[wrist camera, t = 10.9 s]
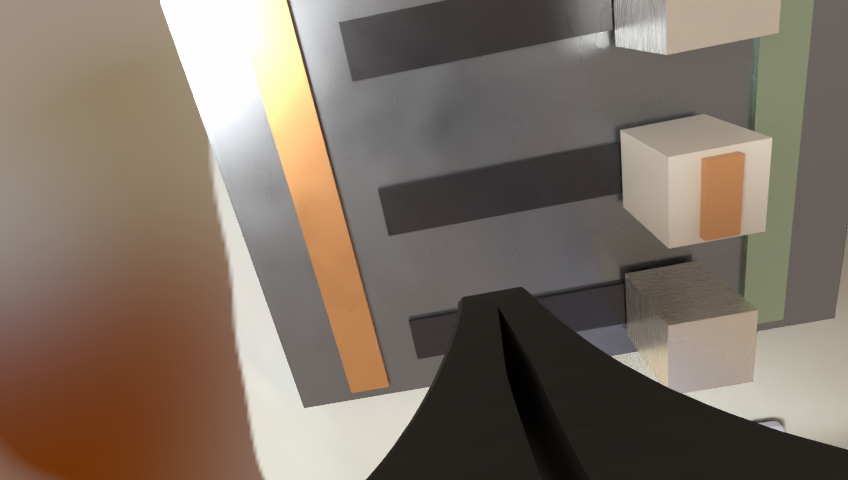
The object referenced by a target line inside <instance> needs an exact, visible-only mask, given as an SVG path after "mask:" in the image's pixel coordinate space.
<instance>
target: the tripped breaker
mask: <svg viewBox="0 0 848 480" xmlns="http://www.w3.org/2000/svg"><path fill="white" fill-rule="evenodd" d="M620 137H621V161H622V186H623V207H624V208H625V209H626V210H627V211H628V212H629V213H630V214H631V215H633V216H634V217H635V218H636V219H637V220H638V221H639V222H640V223H641V224H642V225H643V226H645V227H646V228H647V229H648V230H649V231H650V232H651V233H652V234H653V235H654V236H655V237H657V238H658V239H659V240H660V241H661V242H662V243H663V244H664V245H665V246H666V247H667V248H669V249H670V248H676V247H681V246H687V245H692V244H698V243H703V242H709V241H715V240H720V239H726V238H731V237H737V236H743V235H748V234H754V233H759V232H765V229H766V215H767V202H768V189H769V175H770V162H771V149H772V137H769V136H766V135H763V134H760V133H757V132H755V131H752V130H749V129H746V128H743V127H740V126H737V125H735V124H732V123H729V122H726V121H723V120H720V119H717V118H715V117H712V116H709V115H706V114H701V115H696V116H691V117H686V118H680V119H675V120H670V121H665V122H660V123H654V124H649V125H644V126H639V127H633V128H628V129H623V130H620Z"/></svg>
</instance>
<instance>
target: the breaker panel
mask: <svg viewBox="0 0 848 480" xmlns="http://www.w3.org/2000/svg"><path fill="white" fill-rule="evenodd" d="M160 3H161V5H162V8H163V11H164V14H165V16H166V19H167V22H168V25H169V28H170V30H171V33H172V36H173V39H174V42H175V45H176V47H177V50H178V53H179V56H180V59H181V62H182V64H183V67H184V70H185V73H186V76H187V79H188V82H189V84H190V87H191V90H192V93H193V96H194V98H195V101H196V104H197V107H198V109H199V113H200V115H201V118H202V121H203V124H204V127H205V129H206V132H207V135H208V138H209V141H210V144H211V146H212V149H213V152H214V155H215V158H216V160H217V163H218V166H219V169H220V172H221V175H222V177H223V180H224V183H225V186H226V189H227V192H228V194H229V197H230V200H231V203H232V206H233V208H234V211H235V214H236V217H237V220H238V223H239V225H240V228H241V231H242V234H243V237H244V239H245V242H246V245H247V248H248V251H249V254H250V256H251V259H252V262H253V265H254V268H255V271H256V273H257V276H258V279H259V282H260V285H261V287H262V290H263V293H264V296H265V299H266V302H267V304H268V307H269V310H270V313H271V316H272V318H273V321H274V324H275V327H276V330H277V333H278V335H279V338H280V341H281V344H282V347H283V350H284V352H285V355H286V358H287V361H288V364H289V366H290V369H291V372H292V375H293V378H294V381H295V383H296V386H297V389H298V392H299V395H300V397H301V400H302V403H303V406H304V408H307V407H313V406H319V405H325V404H331V403H336V402H342V401H348V400H354V399H360V398H366V397H372V396H378V395H384V394H389V393H395V392H401V391H407V390H413V389H419V388H425V387H430V386H431V384H432V382H433V380H434V378H435V375H436V373H437V371H438V369H439V367H440V364H441V362H442V360H443V358H444V355H445V352H446V349H447V347H448V344H449V341H450V338H451V335H452V332H453V328H454V325H455V321H456V317H457V311H458V302H459V301H460V300H461V298H462V297H465V296H471V295H477V294H482V293H488V292H493V291H499V290H505V289H510V288H516V287H523V288H524V289H526V290H527V291H528V292H529V293H530V294H531V295H532V296H533V297H535V298H536V299H537V300H538V301H539V302H540V303H541V304H542V305H543V306H544V307H546V308H547V309H548V310H549V311H550V312H551V313H553V314H554V315H555V316H556V317H557V318H559V319H560V320H561V321H562V322H563V323H565V324H566V325H567V326H569V327H570V328H571V329H573V330H574V331H575V332H576V333H578V334H579V335H580V336H582V337H583V338H584V339H586V340H587V341H589V342H590V343H591V344H593V345H594V346H596V347H597V348H599V349H600V350H602V351H603V352H605V353H606V354H608V355H609V356H613V355H619V354H625V353H631V352H637V351H639V353H640V354H641V356H642V357H643V359H644V360H645V362H646V363H647V365H648V366H649V368H650V369H651V371H652V372H653V374H654V375H655V377H656V378H657V380H658V381H659V383H660V384H662V385H664V386H666V387H668V388H670V389H672V390H675V391H677V392H679V393H687V392H693V391H699V390H705V389H711V388H717V387H723V386H729V385H735V384H741V383H747V382H753V373H754V359H755V346H756V332H757V331H760V330H766V329H772V328H778V327H784V326H789V325H795V324H801V323H807V322H813V321H819V320H825V319H831V318H835V311H836V304H837V297H838V290H839V283H840V275H841V268H842V261H843V254H844V247H845V240H846V233H847V226H848V0H162V1H160ZM701 114H706V115H709V116H712V117H715V118H717V119H720V120H723V121H726V122H729V123H732V124H735V125H737V126H740V127H743V128H746V129H749V130H752V131H755V132H757V133H760V134H763V135H766V136H769V137H772V149H771V162H770V175H769V189H768V202H767V215H766V229H765V232H759V233H754V234H748V235H743V236H737V237H731V238H726V239H720V240H715V241H709V242H703V243H698V244H692V245H687V246H681V247H676V248H670V249H669V248H667V247H666V246H665V245H664V244H663V243H662V242H661V241H660V240H659V239H658V238H657V237H655V236H654V235H653V234H652V233H651V232H650V231H649V230H648V229H647V228H646V227H645V226H643V225H642V224H641V223H640V222H639V221H638V220H637V219H636V218H635V217H634V216H633V215H631V214H630V213H629V212H628V211H627V210H626V209H625V208H624V207H623V186H622V161H621V137H620V130H623V129H628V128H633V127H639V126H644V125H649V124H654V123H660V122H665V121H670V120H675V119H680V118H686V117H691V116H696V115H701Z"/></svg>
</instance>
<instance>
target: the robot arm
mask: <svg viewBox="0 0 848 480" xmlns="http://www.w3.org/2000/svg"><path fill="white" fill-rule="evenodd" d="M366 480H848V450H846V449H843V448H839V447H835V446H832V445H828V444H824V443H821V442H817V441H814V440H810V439H806V438H803V437H799V436H795V435H792V434H788V433H785V429H784V428H783V427H782V425H781V424H780V423H779V422H776V421H769V422H763V423H756V422H753V421H750V420H747V419H744V418H741V417H738V416H735V415H733V414H730V413H727V412H725V411H722V410H720V409H717V408H714V407H712V406H709V405H707V404H705V403H702V402H700V401H698V400H695V399H693V398H691V397H688V396H686V395H684V394H682V393H679V392H677V391H675V390H672V389H670V388H668V387H666V386H664V385H662V384H660V383H658V382H656V381H654V380H652V379H650V378H648V377H646V376H644V375H643V374H641V373H639V372H637V371H635V370H633V369H631V368H630V367H628V366H626V365H624V364H622V363H621V362H619V361H617V360H616V359H614V358H612V357H611V356H609V355H608V354H606V353H605V352H603V351H602V350H600V349H599V348H597V347H596V346H594V345H593V344H591V343H590V342H589V341H587V340H586V339H584V338H583V337H582V336H580V335H579V334H578V333H576V332H575V331H574V330H573V329H571V328H570V327H569V326H567V325H566V324H565V323H563V322H562V321H561V320H560V319H559V318H557V317H556V316H555V315H554V314H553V313H551V312H550V311H549V310H548V309H547V308H546V307H544V306H543V305H542V304H541V303H540V302H539V301H538V300H537V299H536V298H535V297H533V296H532V295H531V294H530V293H529V292H528V291H527V290H526V289H524V288H523V287H516V288H510V289H505V290H499V291H493V292H488V293H482V294H477V295H471V296H465V297H462V298H461V300H460V301H459V302H458V311H457V317H456V321H455V325H454V328H453V332H452V335H451V338H450V341H449V344H448V347H447V349H446V352H445V355H444V358H443V360H442V362H441V364H440V367H439V369H438V371H437V373H436V375H435V378H434V380H433V382H432V384H431V386H430V388H429V390H428V392H427V394H426V396H425V398H424V399H423V401H422V403H421V405H420V406H419V408H418V410H417V411H416V413H415V415H414V416H413V418H412V420H411V421H410V423H409V424H408V426H407V427H406V429H405V430H404V432H403V433H402V434H401V436H400V437H399V439H398V440H397V442H396V443H395V445H394V446H393V447H392V449H391V450H390V451H389V453H388V454H387V455H386V457H385V458H384V459H383V460H382V462H381V463H380V464H379V465H378V466H377V468H376V469H375V470H374V471H373V472H372V473H371V475H370V476H369V477H368V478H367V479H366Z"/></svg>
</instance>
